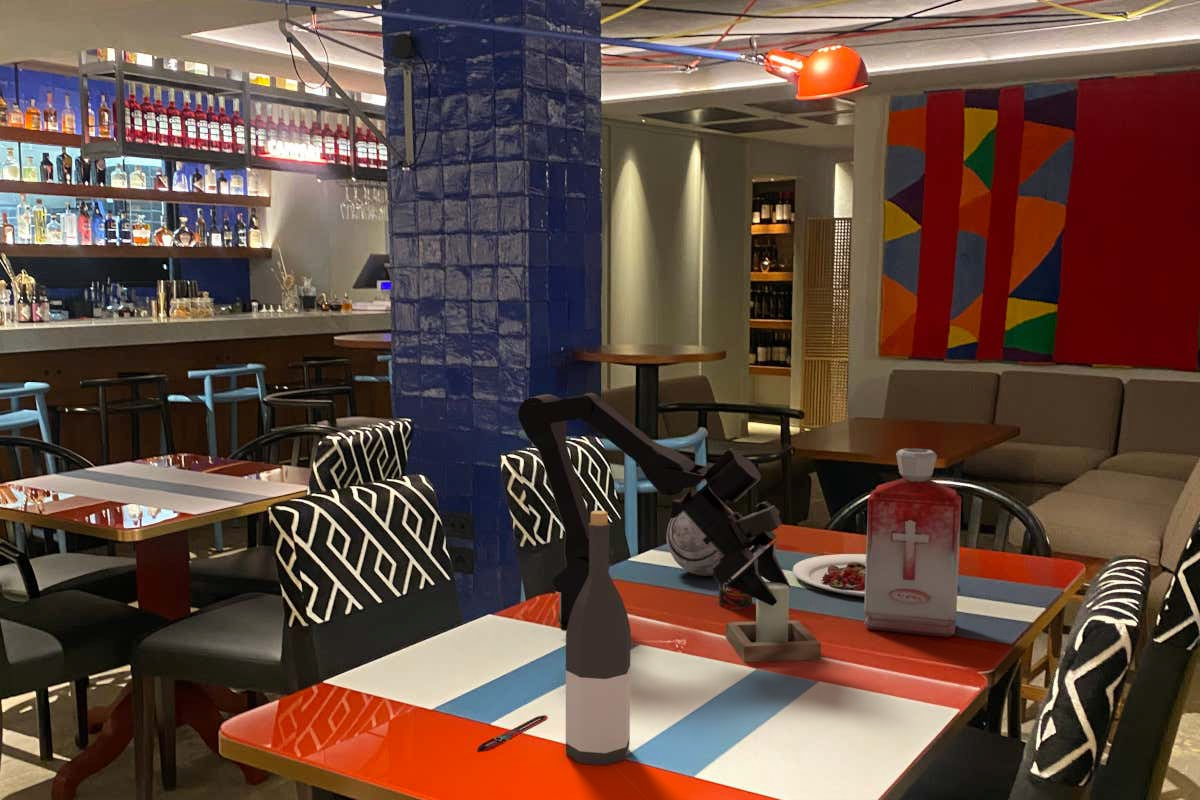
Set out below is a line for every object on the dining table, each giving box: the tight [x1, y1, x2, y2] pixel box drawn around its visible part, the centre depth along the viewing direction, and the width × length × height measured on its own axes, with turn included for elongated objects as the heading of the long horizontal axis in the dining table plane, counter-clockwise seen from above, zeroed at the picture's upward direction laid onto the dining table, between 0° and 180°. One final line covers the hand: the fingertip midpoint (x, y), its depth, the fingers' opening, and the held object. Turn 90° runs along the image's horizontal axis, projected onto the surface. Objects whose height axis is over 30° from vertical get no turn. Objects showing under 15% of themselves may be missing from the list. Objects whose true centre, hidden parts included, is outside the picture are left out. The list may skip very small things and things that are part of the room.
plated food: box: [792, 553, 866, 598], centre depth 219 cm, size 30×30×3 cm
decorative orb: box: [665, 505, 735, 577], centre depth 223 cm, size 15×14×15 cm
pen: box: [477, 714, 548, 752], centre depth 145 cm, size 2×14×1 cm, turn 146°
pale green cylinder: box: [755, 581, 790, 643], centre depth 179 cm, size 5×5×10 cm
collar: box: [725, 619, 822, 663], centre depth 179 cm, size 12×12×2 cm
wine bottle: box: [565, 510, 632, 766], centre depth 138 cm, size 8×8×30 cm
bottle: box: [863, 448, 962, 638], centre depth 189 cm, size 14×10×30 cm
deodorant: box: [718, 554, 753, 610], centre depth 202 cm, size 6×6×15 cm
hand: (781, 596), depth 178 cm, fingers open, 9 cm apart
